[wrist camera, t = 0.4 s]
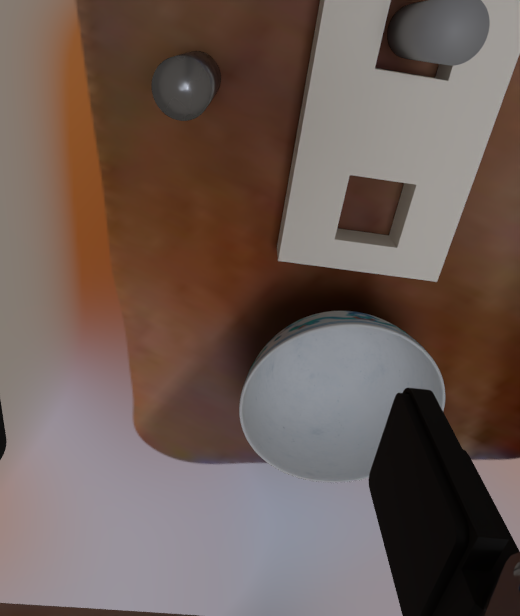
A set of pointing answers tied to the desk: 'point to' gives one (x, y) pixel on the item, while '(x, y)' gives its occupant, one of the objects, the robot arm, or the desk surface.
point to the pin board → (395, 128)
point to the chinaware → (331, 393)
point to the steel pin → (186, 84)
